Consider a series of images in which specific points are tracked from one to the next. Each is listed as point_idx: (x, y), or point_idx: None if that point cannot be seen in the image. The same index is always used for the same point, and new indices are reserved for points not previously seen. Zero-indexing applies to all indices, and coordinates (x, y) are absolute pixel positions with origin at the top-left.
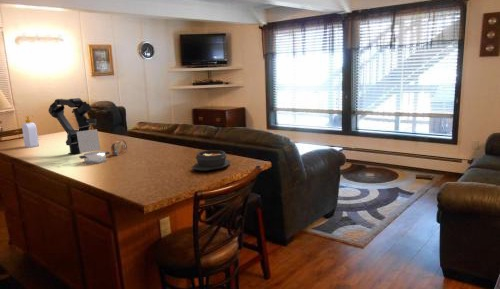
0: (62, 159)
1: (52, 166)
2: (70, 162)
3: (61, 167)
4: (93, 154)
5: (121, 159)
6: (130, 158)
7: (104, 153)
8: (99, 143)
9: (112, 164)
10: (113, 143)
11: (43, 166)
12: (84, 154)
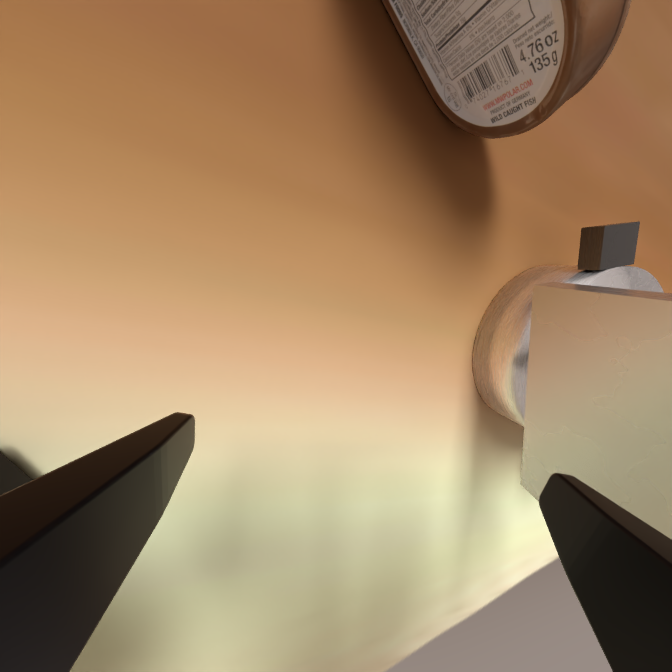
0: (264, 584)
1: (451, 596)
2: (426, 507)
3: (510, 541)
4: None
5: (611, 151)
6: (638, 71)
7: (661, 287)
8: (642, 291)
9: (660, 266)
10: (594, 10)
11: (412, 647)
12: None
